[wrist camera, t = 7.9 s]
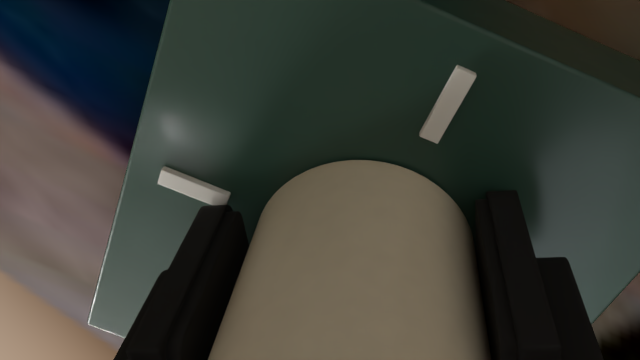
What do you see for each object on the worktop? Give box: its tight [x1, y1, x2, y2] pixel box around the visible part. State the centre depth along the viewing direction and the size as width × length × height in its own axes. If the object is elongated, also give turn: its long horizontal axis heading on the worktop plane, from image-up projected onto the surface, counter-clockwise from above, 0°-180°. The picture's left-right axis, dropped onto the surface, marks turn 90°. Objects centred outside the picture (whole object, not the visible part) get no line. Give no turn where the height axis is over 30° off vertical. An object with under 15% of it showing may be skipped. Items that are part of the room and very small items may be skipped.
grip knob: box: [208, 160, 491, 360], centre depth 10 cm, size 4×4×5 cm
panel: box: [88, 0, 640, 338], centre depth 14 cm, size 10×10×3 cm
